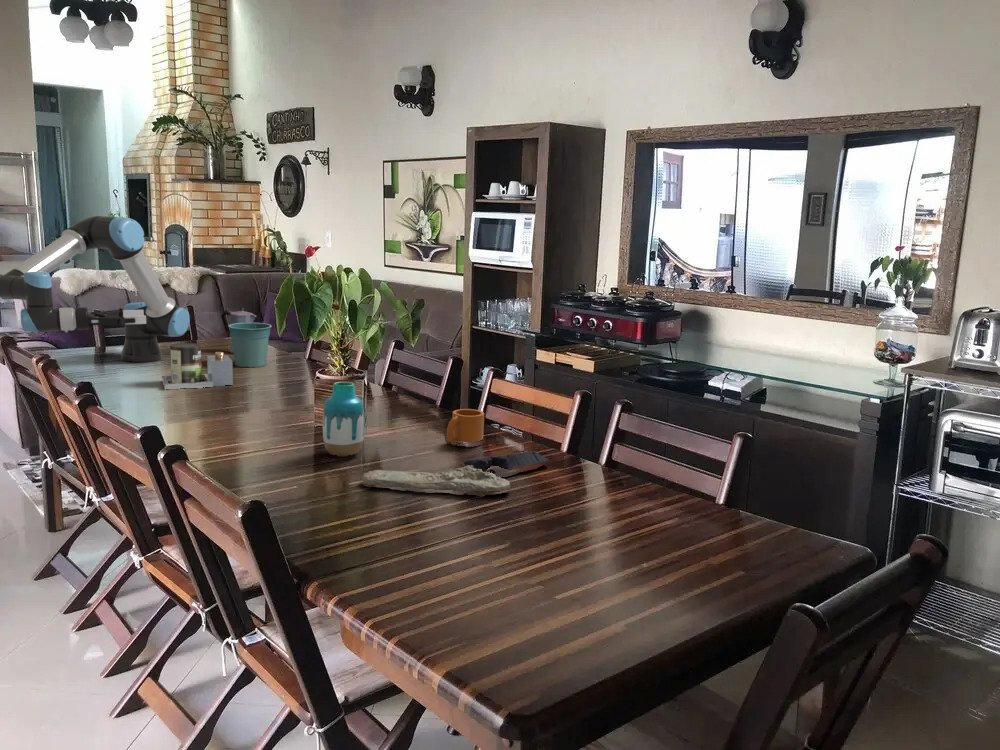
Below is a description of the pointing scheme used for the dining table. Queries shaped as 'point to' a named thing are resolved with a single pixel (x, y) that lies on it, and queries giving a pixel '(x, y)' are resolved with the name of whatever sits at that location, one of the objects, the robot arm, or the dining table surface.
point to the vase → (343, 421)
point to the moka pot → (237, 320)
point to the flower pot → (250, 343)
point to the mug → (466, 426)
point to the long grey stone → (439, 480)
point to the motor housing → (217, 374)
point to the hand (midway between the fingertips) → (145, 316)
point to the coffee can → (185, 362)
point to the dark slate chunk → (507, 460)
